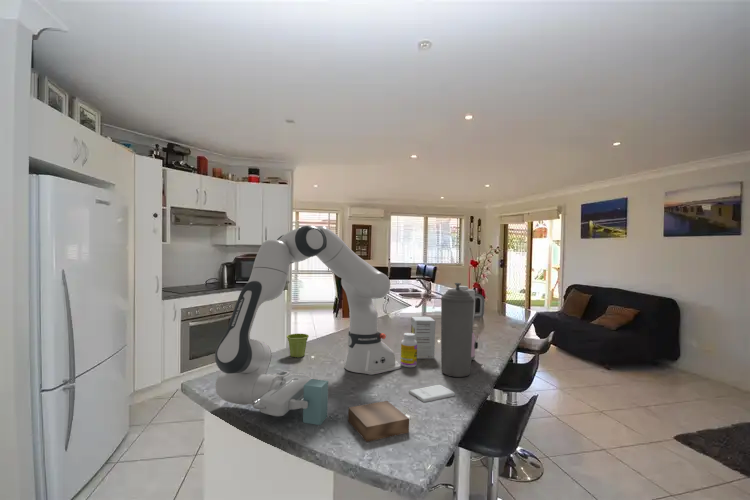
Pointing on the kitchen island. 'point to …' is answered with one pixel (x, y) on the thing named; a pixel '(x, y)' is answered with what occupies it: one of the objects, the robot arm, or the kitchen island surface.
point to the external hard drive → (432, 393)
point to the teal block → (316, 401)
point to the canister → (456, 332)
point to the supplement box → (424, 336)
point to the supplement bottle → (409, 350)
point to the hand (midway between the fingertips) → (315, 397)
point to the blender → (474, 315)
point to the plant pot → (297, 344)
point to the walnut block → (378, 420)
